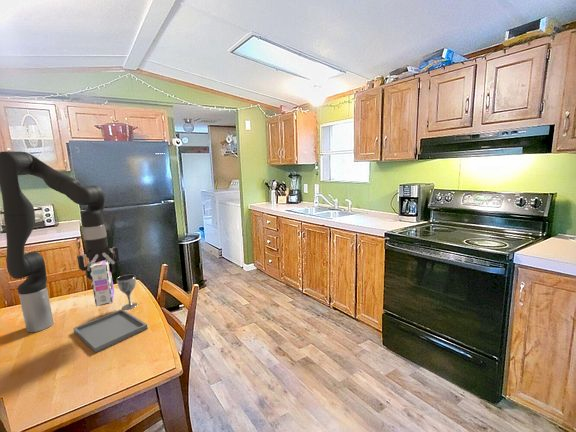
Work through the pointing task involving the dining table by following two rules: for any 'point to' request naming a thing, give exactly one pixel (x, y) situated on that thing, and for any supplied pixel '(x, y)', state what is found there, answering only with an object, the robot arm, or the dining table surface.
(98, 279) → the candy box
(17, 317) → the dining table surface
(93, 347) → the tray
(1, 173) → the robot arm
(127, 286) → the wine glass
